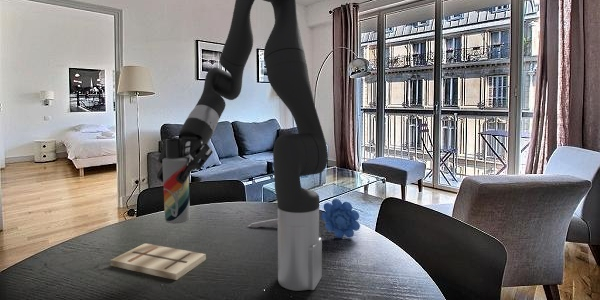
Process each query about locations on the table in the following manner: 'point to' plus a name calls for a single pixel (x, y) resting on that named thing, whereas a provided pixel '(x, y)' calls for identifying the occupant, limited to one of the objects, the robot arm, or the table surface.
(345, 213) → the blue flower
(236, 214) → the table surface
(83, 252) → the table surface
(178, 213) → the lotion bottle
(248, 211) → the table surface
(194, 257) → the oak board
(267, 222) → the caliper
